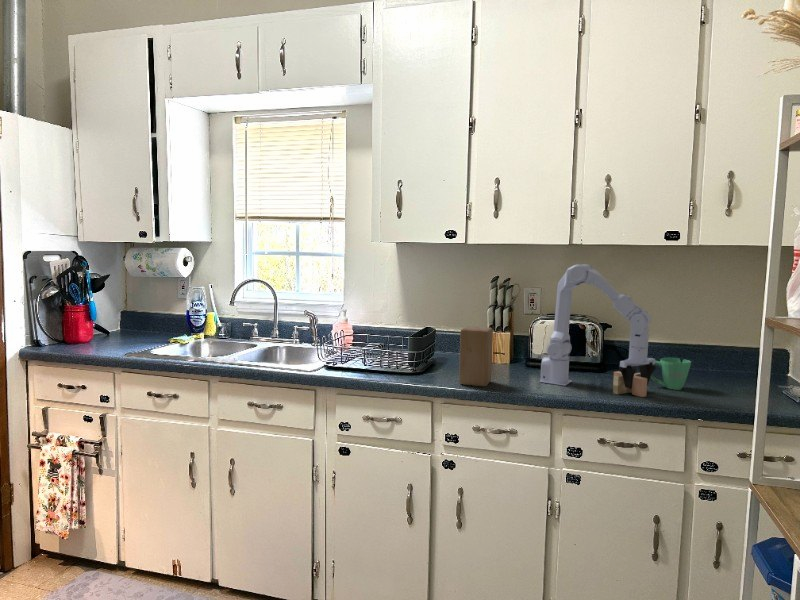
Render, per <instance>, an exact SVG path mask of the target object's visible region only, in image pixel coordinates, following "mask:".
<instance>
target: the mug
mask: <svg viewBox="0 0 800 600" xmlns="http://www.w3.org/2000/svg"><path fill="white" fill-rule="evenodd" d="M654 365H655V366H659V367H660V368H661V373H662V374H661V375H662V378H663V381H662V380H660V379H658V378H656V376H654V375H653V374H652V375H651V377H650V379H652V380H653V381H654V382H656V384H660V385H662V386H664V387H666V388H667V389H668V390H669V389H670V390H672V389H673V390H675V391H680V390H681V391H682V388H683V387H684V385H685V383H686V380H687V379H688V375H689V372H690V368H691V365H692V361H691V360H689V359H682V361H681V358H677V357H662V358H660V361H658V360H655V364H654Z"/></svg>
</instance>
